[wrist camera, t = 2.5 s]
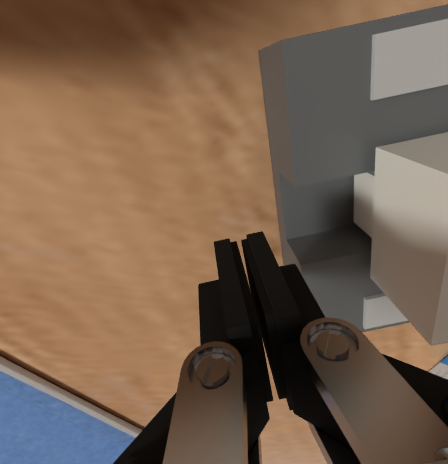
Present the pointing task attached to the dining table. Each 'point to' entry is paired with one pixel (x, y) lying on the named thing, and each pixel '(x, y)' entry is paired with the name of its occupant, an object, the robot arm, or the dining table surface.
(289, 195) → the switch panel
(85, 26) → the dining table surface
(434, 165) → the switch tab
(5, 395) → the tablet computer
